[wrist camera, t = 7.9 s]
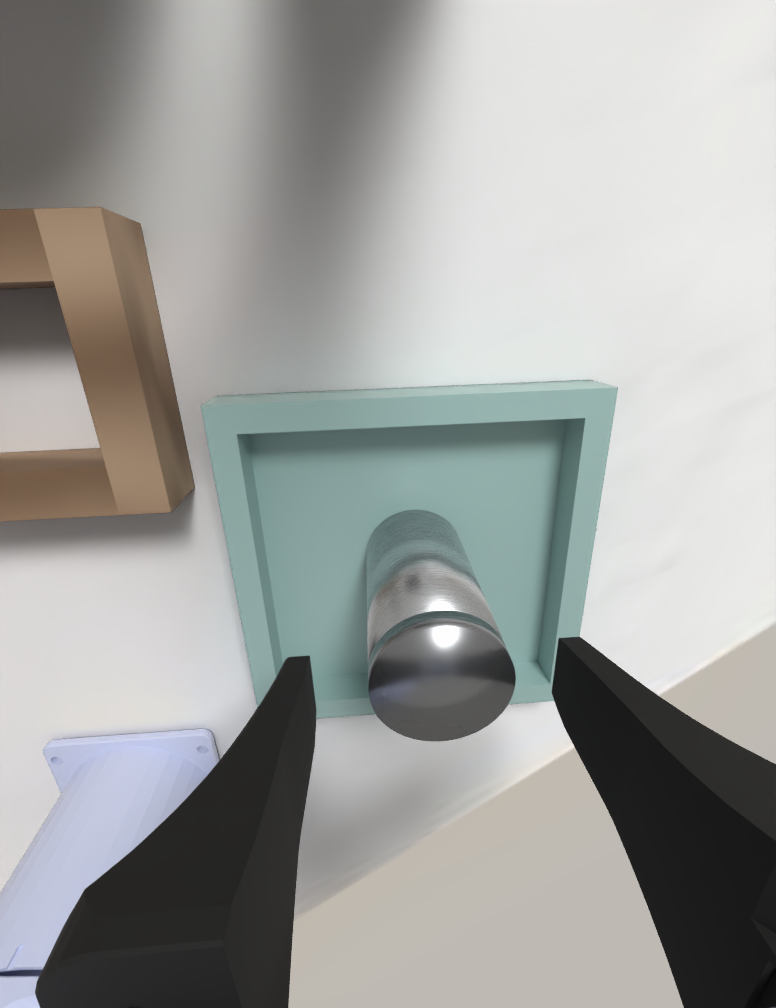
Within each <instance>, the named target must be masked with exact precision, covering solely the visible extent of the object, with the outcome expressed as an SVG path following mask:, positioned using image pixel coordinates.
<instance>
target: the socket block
mask: <svg viewBox="0 0 776 1008" xmlns="http://www.w3.org/2000/svg"><path fill="white" fill-rule="evenodd" d="M48 287H55V288H56V291H57V295H58V298H59V302H60V305H61V309H62V313H63V316H64V320H65V323H66V327H67V330H68V334H69V337H70V341H71V345H72V348H73V352H74V355H75V359H76V362H77V366H78V370H79V373H80V377H81V380H82V384H83V387H84V391H85V394H86V398H87V402H88V405H89V409H90V412H91V416H92V419H93V423H94V427H95V430H96V434H97V437H98V441H99V444H100V448H91V449H70V450H49V451H27V452H6V453H0V521H18V520H37V519H56V518H74V517H93V516H111V515H130V514H149V513H167V512H172V511H173V510H174V509H175V508H176V507H177V506H178V505H179V503H180V502H181V501H182V500H183V499H184V498H185V497H186V496H187V495H188V494H189V493H190V492H191V491H192V490H193V489H194V487H195V486H194V481H193V476H192V471H191V466H190V461H189V457H188V452H187V447H186V442H185V437H184V432H183V428H182V423H181V418H180V413H179V408H178V403H177V398H176V394H175V389H174V384H173V379H172V374H171V369H170V365H169V360H168V355H167V350H166V345H165V340H164V336H163V331H162V326H161V321H160V316H159V311H158V307H157V302H156V297H155V292H154V287H153V282H152V277H151V273H150V268H149V263H148V258H147V253H146V248H145V244H144V239H143V234H142V229H141V224H140V223H138V222H135V221H133V220H130V219H128V218H125V217H123V216H121V215H118V214H116V213H113V212H111V211H109V210H106V209H104V208H101V207H81V208H41V209H0V289H16V288H48Z"/></svg>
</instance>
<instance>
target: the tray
mask: <svg viewBox="0 0 776 1008" xmlns="http://www.w3.org/2000/svg"><path fill="white" fill-rule="evenodd" d="M617 391H618V387H614V386H611V385H607V384H604V383H600V382H597V381H593V380H573V381H550V382H526V383H503V384H480V385H456V386H433V387H410V388H386V389H363V390H339V391H316V392H293V393H269V394H246V395H223V396H217V397H215V398H213V399H211V400H210V401H208V402H206V403H205V404H203V405H201V409H202V415H203V420H204V425H205V431H206V436H207V441H208V447H209V452H210V457H211V463H212V468H213V473H214V479H215V484H216V489H217V495H218V500H219V505H220V511H221V516H222V521H223V527H224V532H225V537H226V543H227V548H228V553H229V559H230V564H231V569H232V575H233V580H234V585H235V591H236V596H237V601H238V607H239V612H240V617H241V623H242V628H243V633H244V639H245V644H246V649H247V654H248V660H249V665H250V670H251V676H252V681H253V686H254V692H255V697H256V702H257V708H258V706H259V705H260V703H261V702H262V700H263V699H264V697H265V695H266V694H267V692H268V690H269V689H270V687H271V685H272V684H273V682H274V680H275V678H276V676H277V675H278V673H279V671H280V669H281V667H282V665H283V663H284V661H285V660H286V659H287V658H288V657H295V656H310V661H311V669H312V677H313V685H314V694H315V702H316V718H330V717H343V716H357V715H370V714H376V713H375V712H374V710H373V708H372V706H371V703H370V699H369V693H368V642H367V578H366V549H367V544H368V541H369V538H370V536H371V534H372V532H373V531H374V530H375V528H376V527H377V526H378V525H379V524H380V523H381V522H382V521H384V520H385V519H386V518H388V517H390V516H392V515H394V514H396V513H399V512H402V511H407V510H425V511H430V512H433V513H435V514H438V515H440V516H441V517H443V518H445V519H446V520H447V521H448V522H449V523H450V524H451V525H452V526H453V527H454V529H455V530H456V532H457V534H458V536H459V538H460V541H461V543H462V545H463V548H464V550H465V552H466V555H467V557H468V559H469V562H470V564H471V566H472V569H473V571H474V573H475V576H476V578H477V580H478V583H479V585H480V587H481V590H482V592H483V594H484V597H485V599H486V601H487V604H488V606H489V608H490V611H491V613H492V615H493V618H494V620H495V622H496V625H497V627H498V629H499V632H500V634H501V636H502V639H503V641H504V643H505V646H506V648H507V650H508V653H509V655H510V657H511V660H512V662H513V665H514V668H515V675H516V683H515V689H514V693H513V695H512V698H511V700H510V702H509V704H519V703H532V702H546V701H554V698H553V695H552V693H551V692H552V684H553V677H554V669H555V662H556V654H557V647H558V639H559V638H567V637H579V635H580V629H581V622H582V616H583V610H584V603H585V597H586V590H587V584H588V577H589V571H590V565H591V558H592V552H593V545H594V539H595V532H596V526H597V520H598V513H599V507H600V500H601V494H602V488H603V481H604V475H605V468H606V462H607V455H608V449H609V443H610V436H611V430H612V423H613V417H614V410H615V404H616V398H617Z"/></svg>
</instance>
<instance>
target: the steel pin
mask: <svg viewBox="0 0 776 1008" xmlns="http://www.w3.org/2000/svg"><path fill="white" fill-rule="evenodd" d="M366 578H367V642H368V693H369V699H370V703H371V706H372V708H373V710H374V712H375V713H376V715H377V716H378V718H379V719H380V720H381V721H382V722H383V723H384V724H385V725H387V726H388V727H389V728H390V729H392V730H394V731H395V732H397V733H399V734H401V735H404V736H406V737H410V738H413V739H418V740H424V741H447V740H453V739H458V738H461V737H465V736H468V735H470V734H473V733H475V732H477V731H479V730H481V729H483V728H484V727H486V726H487V725H489V724H490V723H492V722H493V721H494V720H495V719H496V718H497V717H498V716H499V715H500V714H501V713H502V712H503V711H504V709H505V708H506V707H507V705H508V704H509V702H510V700H511V698H512V695H513V693H514V689H515V683H516V675H515V668H514V665H513V662H512V660H511V657H510V655H509V653H508V650H507V648H506V646H505V643H504V641H503V639H502V636H501V634H500V632H499V629H498V627H497V625H496V622H495V620H494V618H493V615H492V613H491V611H490V608H489V606H488V604H487V601H486V599H485V597H484V594H483V592H482V590H481V587H480V585H479V583H478V580H477V578H476V576H475V573H474V571H473V569H472V566H471V564H470V562H469V559H468V557H467V555H466V552H465V550H464V548H463V545H462V543H461V541H460V538H459V536H458V534H457V532H456V530H455V529H454V527H453V526H452V525H451V524H450V523H449V522H448V521H447V520H446V519H445V518H443V517H441V516H440V515H438V514H435V513H433V512H430V511H425V510H407V511H402V512H399V513H396V514H394V515H392V516H390V517H388V518H386V519H385V520H384V521H382V522H381V523H380V524H379V525H378V526H377V527H376V528H375V530H374V531H373V532H372V534H371V536H370V538H369V541H368V544H367V549H366Z"/></svg>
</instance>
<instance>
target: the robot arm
mask: <svg viewBox="0 0 776 1008" xmlns="http://www.w3.org/2000/svg"><path fill="white" fill-rule="evenodd" d="M551 693H552V695H553V698H554V701H555V704H556V706H557V709H558V712H559V714H560V717H561V719H562V722H563V724H564V727H565V729H566V731H567V733H568V735H569V737H570V739H571V741H572V743H573V744H574V746H575V748H576V750H577V752H578V754H579V756H580V758H581V760H582V761H583V763H584V765H585V767H586V769H587V771H588V773H589V775H590V777H591V779H592V781H593V782H594V784H595V786H596V788H597V790H598V792H599V794H600V796H601V798H602V799H603V801H604V803H605V805H606V807H607V809H608V811H609V814H610V816H611V817H612V820H613V822H614V824H615V826H616V829H617V831H618V834H619V836H620V838H621V841H622V843H623V846H624V848H625V850H626V853H627V855H628V858H629V860H630V862H631V865H632V867H633V870H634V872H635V875H636V877H637V880H638V882H639V885H640V888H641V890H642V892H643V895H644V898H645V900H646V903H647V905H648V908H649V911H650V913H651V916H652V919H653V921H654V924H655V927H656V930H657V932H658V935H659V937H660V940H661V943H662V946H663V948H664V951H665V954H666V957H667V959H668V962H669V965H670V968H671V971H672V974H673V977H674V980H675V983H676V986H677V989H678V991H679V994H680V997H681V1000H682V1003H683V1006H684V1008H776V764H774V763H772V762H770V761H768V760H766V759H764V758H762V757H760V756H758V755H756V754H755V753H753V752H751V751H749V750H747V749H745V748H743V747H741V746H739V745H737V744H735V743H733V742H732V741H730V740H728V739H726V738H725V737H723V736H721V735H719V734H718V733H716V732H714V731H713V730H711V729H709V728H707V727H706V726H704V725H702V724H701V723H699V722H697V721H696V720H694V719H692V718H691V717H689V716H688V715H686V714H685V713H683V712H681V711H680V710H678V709H677V708H676V707H674V706H673V705H671V704H670V703H668V702H667V701H665V700H663V699H662V698H661V697H659V696H658V695H656V694H655V693H654V692H652V691H651V690H649V689H648V688H647V687H645V686H644V685H642V684H641V683H640V682H638V681H637V680H636V679H634V678H633V677H632V676H630V675H629V674H628V673H626V672H625V671H624V670H622V669H621V668H620V667H618V666H617V665H616V664H615V663H613V662H612V661H611V660H609V659H608V658H607V657H605V656H604V655H603V654H602V653H600V652H599V651H598V650H596V649H595V648H594V647H593V646H591V645H590V644H589V643H587V642H586V641H585V640H583V639H582V638H580V637H567V638H559V639H558V647H557V654H556V662H555V669H554V677H553V684H552V692H551ZM315 731H316V702H315V694H314V685H313V677H312V669H311V661H310V656H295V657H288V658H287V659H286V660H285V661H284V663H283V665H282V667H281V669H280V671H279V673H278V675H277V676H276V678H275V680H274V682H273V684H272V685H271V687H270V689H269V690H268V692H267V694H266V695H265V697H264V699H263V700H262V702H261V703H260V705H259V706H258V708H257V710H256V711H255V713H254V714H253V716H252V717H251V719H250V720H249V722H248V723H247V724H246V726H245V727H244V729H243V730H242V731H241V733H240V734H239V736H238V737H237V738H236V740H235V741H234V743H233V744H232V745H231V747H230V748H229V749H228V751H227V752H226V753H225V754H224V756H223V757H222V758H221V759H220V761H219V758H218V753H217V749H216V745H215V741H214V737H213V734H212V733H211V732H210V731H209V730H206V729H193V730H180V731H166V732H153V733H139V734H126V735H112V736H99V737H85V738H72V739H58V740H52V741H50V742H48V743H47V745H46V746H45V747H44V749H43V754H44V756H45V758H46V760H47V763H48V765H49V767H50V769H51V772H52V774H53V776H54V778H55V781H56V783H57V785H58V787H59V790H60V792H61V795H60V797H59V798H58V800H57V802H56V803H55V805H54V807H53V808H52V810H51V811H50V813H49V815H48V816H47V818H46V820H45V821H44V823H43V824H42V826H41V828H40V829H39V831H38V833H37V834H36V836H35V837H34V839H33V841H32V842H31V844H30V846H29V847H28V849H27V850H26V852H25V854H24V855H23V857H22V859H21V860H20V862H19V863H18V865H17V867H16V868H15V870H14V871H13V873H12V875H11V876H10V878H9V880H8V881H7V883H6V884H5V886H4V888H3V889H2V891H1V893H0V1008H288V999H289V984H290V982H289V981H290V967H291V950H292V934H293V919H294V905H295V890H296V877H297V864H298V851H299V843H300V835H301V828H302V822H303V816H304V809H305V803H306V797H307V791H308V785H309V779H310V772H311V766H312V760H313V753H314V747H315ZM204 746H205V747H204Z"/></svg>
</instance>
